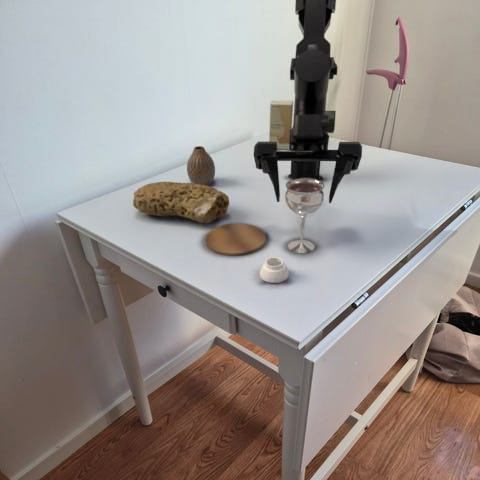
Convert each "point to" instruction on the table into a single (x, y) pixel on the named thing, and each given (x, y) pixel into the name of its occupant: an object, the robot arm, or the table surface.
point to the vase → (200, 167)
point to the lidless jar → (274, 270)
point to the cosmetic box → (281, 123)
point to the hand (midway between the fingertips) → (303, 201)
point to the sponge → (181, 201)
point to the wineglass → (303, 205)
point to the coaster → (235, 239)
